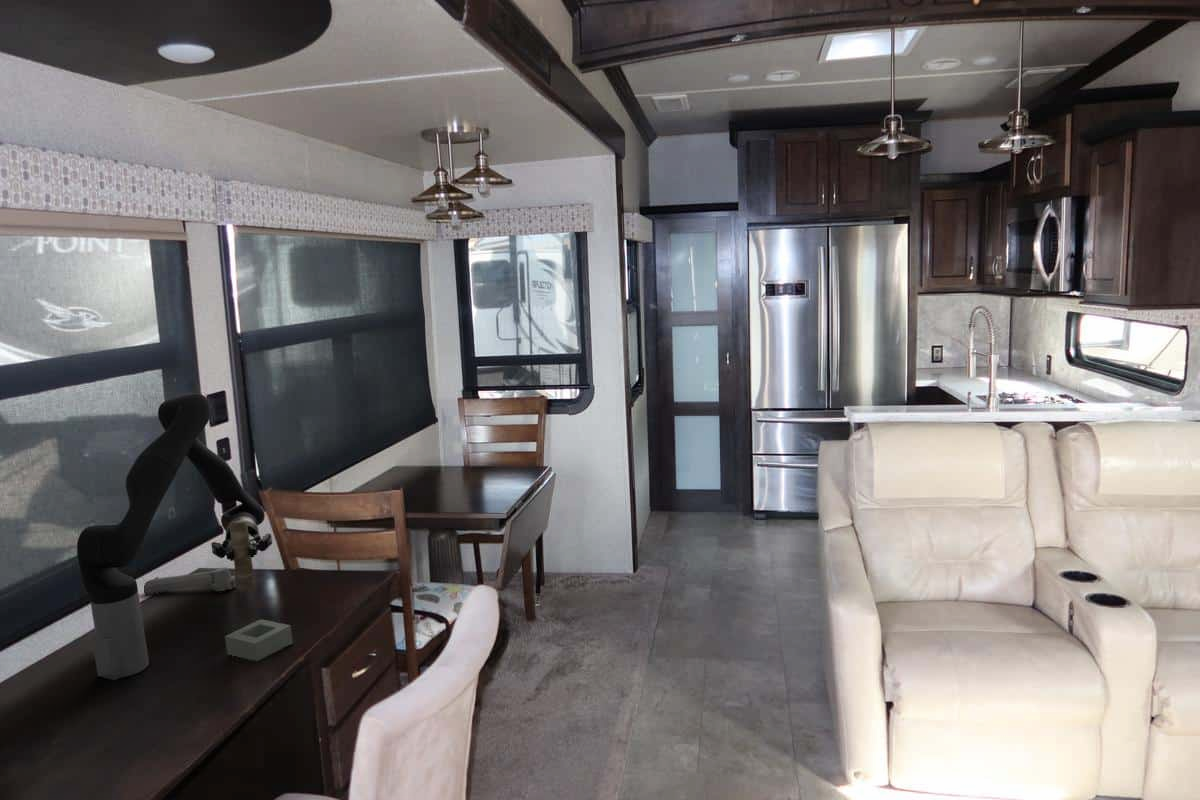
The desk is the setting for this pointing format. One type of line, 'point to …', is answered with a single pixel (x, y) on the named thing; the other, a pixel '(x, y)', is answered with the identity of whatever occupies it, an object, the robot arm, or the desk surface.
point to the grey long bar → (192, 581)
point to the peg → (242, 555)
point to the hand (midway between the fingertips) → (241, 554)
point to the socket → (258, 639)
